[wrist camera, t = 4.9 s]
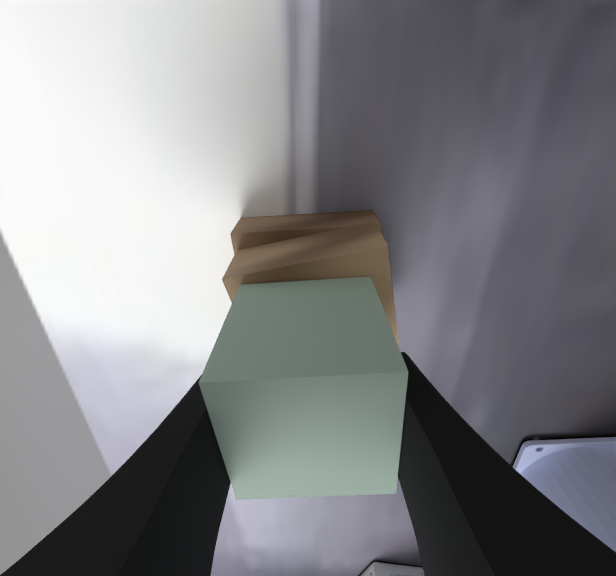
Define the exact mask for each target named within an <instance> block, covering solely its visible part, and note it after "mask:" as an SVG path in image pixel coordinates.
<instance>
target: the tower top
mask: <svg viewBox="0 0 616 576" xmlns="http://www.w3.org/2000/svg"><path fill="white" fill-rule="evenodd" d="M368 276H371V278H372V281H373V283H374V286H375V289H376V291H377V294H378V296H379V299H380V301H381V304H382V306H383V309H384V311H385V314H386V316H387V319H388V321H389V324H390V326H391V329H392V332H393V334H394V337H395V339H396V342H397V344H398V347H399V341H398V332H397V323H396V314H395V305H394V296H393V287H392V278H391V269H390V260H389V250H388V245H387V243H386V241H385V239H384V237H383V236H382V234H381V232H380V230H379V228H378V227H377V225H376V223H375V221H371V222H366V223H362V224H357V225H353V226H348V227H343V228H339V229H334V230H329V231H325V232H320V233H315V234H311V235H306V236H301V237H297V238H292V239H287V240H283V241H278V242H274V243H269V244H264V245H260V246H255V247H250V248H246V249H241V250H237V252H236V254H235V256H234V258H233V259H232V261H231V263H230V265H229V267H228V269H227V271H226V273H225V275H224V277H223V278H222V280H223V283H224V285H225V288H226V290H227V292H228V295H229V297H230V300H231V302H232V303H233V300H234V298H235V296H236V293H237V291H238V289H239V286H240V285H243V284H259V283H275V282H290V281H306V280H322V279H337V278H353V277H368Z"/></svg>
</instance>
